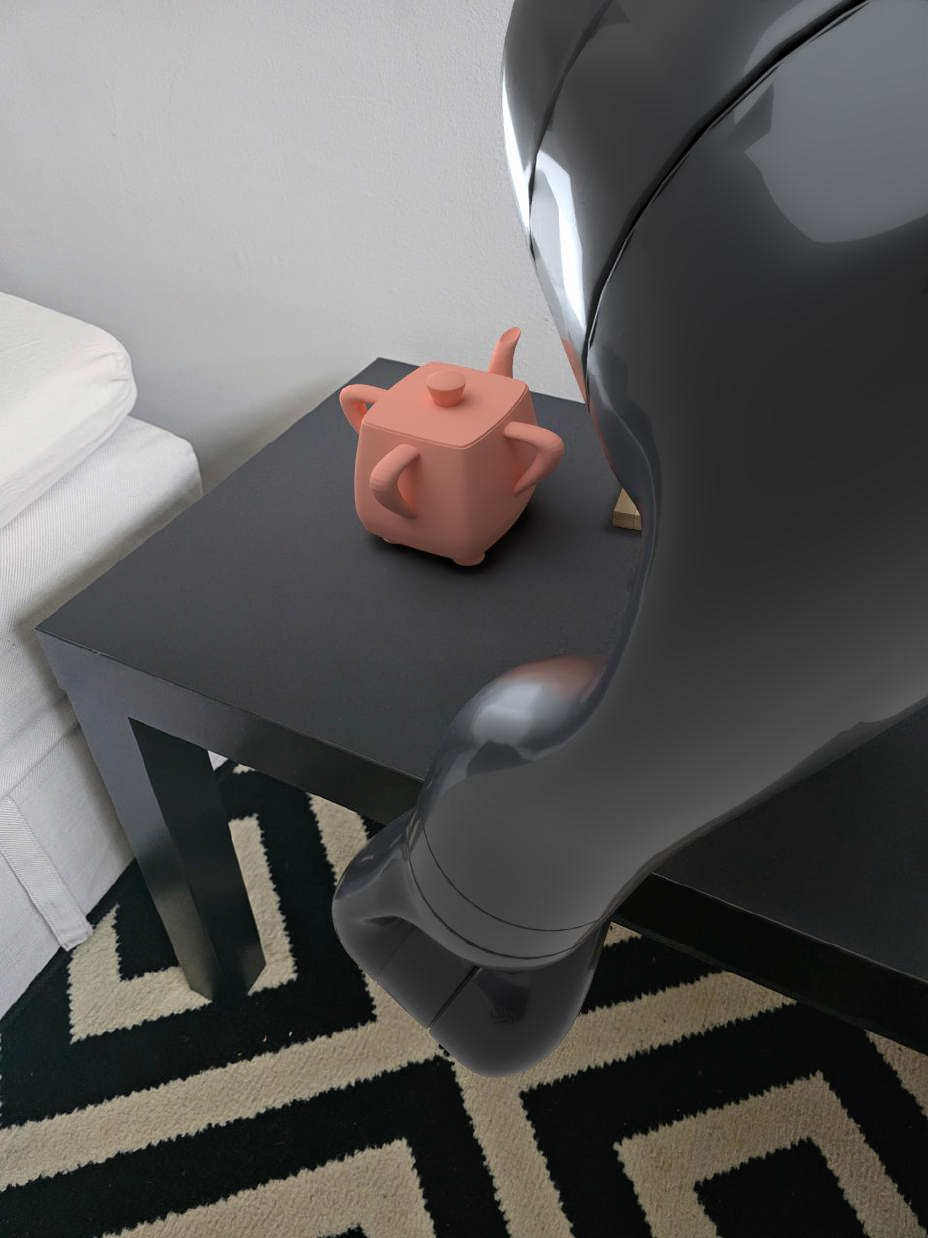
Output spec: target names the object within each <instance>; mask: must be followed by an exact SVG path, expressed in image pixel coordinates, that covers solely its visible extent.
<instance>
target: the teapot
mask: <svg viewBox="0 0 928 1238" xmlns="http://www.w3.org/2000/svg"><path fill="white" fill-rule="evenodd" d="M521 334H522V329H521V328H520V327H517V326H514V327H511V328H509V329H507V330H506V331H505V332H504V333H502V335H501V336H500V337H499V338H498V340H497V342H496V344H495V347H494V350H493V352H492V355H491V357H490V360H489V361H490V362H489V364H488V367H487V371H485V370H480V369H475V368H471V367H467V366H462V365H456V364H451V363H446V362H440V361H430V362H428V363H425V364H423V365H421V366H420V367H418V368H416V369H415V370H413V371H412V372H410V373H408V374H407V375H406V376H404V377H403V378H402V379H400V380H399V381H398V382H396V383H395V384H394V385H392V386H391V387H390V388H389V389H384V388H381V387H378V386H373V385H368V384H360V383H355V384H350V385H349V384H348V385H347V386H345V387H344V388H342V390H341V391H340V392H339V403H340V406H341V409H342V412H343V414H344V416H345V418H346V419H347V421H348V422H349V424H350V426H351V427H352V428H353V430H354V431H355V432H356V433H357V434H358V442H357V448H356V455H355V464H354V502H355V510H356V513H357V516H358V518H359V520H360V522H361V524H362V525H363V527H364V529H365V530H366V531H367V532H368V533H370V534H372V535H375V536H377V537H380V538H382V539H383V540H384V541H385V542H387V543H389V544H394V545H403V546H406V547H409V548H412V549H415V550H419V551H422V552H426V553H429V554H433V555H437V556H440V557H443V558H446V559H447V558H448V559H452V561H453V562H454V563H455V564H457V565H460V566H463V567H464V566H465V567H470V566H475V565H478V564H480V563H481V562H483V561H484V559H485V557H486V554H485V552H486V551H487V550H489V549H490V548H491V547H492V546H494V544H496V542H498V541H499V540H500V538H502V537H504V535H505V534H506V533H507V532H508V531H509V530H510V529H511V528H512V527H513V526H514V524H515V523H516V522H517V521H518V519H519V518H520V516H521V515H522V513H523V512H524V510H525V508H526V507H527V506H528V504H529V502H530V500H531V498H532V496H533V494H534V492H535V490H536V487H537V486H538V485H537V484H538V483H540V482H542V480H544V479H545V478H547V477H548V476H549V475H550V474H551V473H552V472H553V471H554V470H555V469H556V468H557V467H558V465H559V463H560V462H561V460H562V458H563V456H564V453H565V444H564V443H565V442H563V439H562V438H561V437H560V436H559V435H558V434H557V433H555V432H553V431H551V430H549V429H547V428H543V427H541V426H539V425H538V420H537V416H536V412H535V408H534V404H533V403H534V402H533V399H532V395H531V392H530V388H529V384H527V383H526V382H525V381H523V380H520V379H516V378H514V356H515V352H516V348H517V345H518V343H519V341H520V339H521ZM366 404H372V406H371V407H370V408H369V409H368V408H367V406H366Z"/></svg>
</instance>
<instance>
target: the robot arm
mask: <svg viewBox="0 0 928 1238" xmlns="http://www.w3.org/2000/svg"><path fill="white" fill-rule="evenodd" d="M511 7H512V8H511V11H510V15H509V20H508V24H507V28H506V31H505V35H504V40H503V41H504V43H503V49H502V54H501V63H500V72H499V73H500V75H499V108H500V109H499V110H500V123H501V125H500V126H501V134H502V135H501V137H502V146H503V153H504V159H505V164H506V165H505V166H506V170H507V171H506V172H507V176H508V182H509V187H510V192H511V196H512V200H513V205H514V209H515V212H516V215H517V216H516V217H517V218H518V222H519V225H520V229H521V232H522V235H523V239H524V242H525V245H526V249H527V251H528V255H529V258H530V260H531V265H532V266H533V270H534V273H535V276H536V278H537V281H538V283H539V287H540V289H541V291H542V294H543V297H544V299H545V302H546V305H547V308H548V310H549V313H550V315H551V317H552V320H553V323H554V325H555V328H556V331H557V333H558V336H559V338H560V342H561V344H562V346H563V349H564V351H565V355H566V357H567V360H568V362H569V364H570V367H571V371H572V373H573V375H574V378H575V381H576V383H577V385H578V388H579V391H580V393H581V396H582V399H583V401H584V404H585V407H586V409H587V412H588V414H589V416H590V419H591V421H592V423H593V426H594V428H595V432H596V434H597V437H598V440H599V442H600V445H601V448H602V451H603V453H604V456H605V458H606V461H607V463H608V465H609V468H610V469H611V472H612V474H614V476H615V478H616V481H618V483H619V485H620V486H621V488H623V489H624V490H625V492H626V493H627V494H628V496H629V497H630V499H631V500H632V502H633V503H634V505H635V506H636V508H637V510H638V512H639V514H640V518H641V530H640V532H641V543H640V544H641V545H640V552H639V557H638V562H637V566H636V571H635V574H634V579H633V584H632V588H631V593H630V597H629V601H628V603H627V608H626V611H625V614H624V617H623V619H622V623H621V625H620V629H619V632H618V635H617V637H616V641H615V643H614V645H613V646H612V647H611V648H610V650H608V651H605V652H604V651H602V652H601V651H599V652H597V651H582V652H570V653H560V654H555V655H549V656H544V657H539V658H536V659H533V660H530V661H528V662H525V663H523V664H519V665H518V666H514V667H513V668H511V669H508V670H507V671H505V672H503V673H501V674H500V675H498V676H497V677H495V678H494V679H492V680H490V681H489V682H488V683H486V684H485V685H484V686H482V688H480V689H479V690H478V691H476V692H475V694H474V695H472V697H471V698H470V699H469V700H468V701H466V703H465V704H464V705H463V706H462V707H461V708H460V710H458V713H456V715H455V717H454V718H453V720H452V721H451V722H450V724H449V726H448V728H447V729H446V731H445V732H444V734H443V735H442V737H441V739H440V741H439V743H438V746H437V747H436V749H435V752H434V754H433V756H432V759H431V761H430V764H429V767H428V769H427V773H426V775H425V778H424V780H423V783H422V786H421V788H420V792H419V793H418V796H417V799H416V802H415V804H414V807H413V808H411V809H409V810H407V811H406V812H404V813H402V814H401V815H399V816H397V817H396V818H395V819H393V820H392V821H390V822H389V823H387V824H386V825H385V826H384V827H383V828H381V829H380V830H379V831H378V832H377V833H376V834H374V835H373V836H372V837H371V838H369V840H368V841H367V842H365V844H364V845H363V846H362V847H361V848H360V849H359V850H358V851H357V853H356V854H354V856H353V857H352V858H351V860H350V861H349V863H348V865H347V866H346V867H345V869H344V870H343V872H342V873H341V876H340V878H339V879H338V882H337V885H336V887H335V890H334V893H333V896H332V901H331V918H332V924H333V928H334V931H335V933H336V937H337V938H338V940H339V943H340V944H341V946H342V947H343V949H344V950H345V952H346V953H347V955H348V956H349V957H350V958H351V959H352V960H353V961H354V962H355V964H356V965H357V966H358V967H359V968H360V969H361V970H362V971H363V972H365V974H367V975H368V976H369V978H371V979H372V980H373V981H374V982H375V983H376V984H377V985H378V986H379V987H380V988H381V989H382V990H383V991H384V992H385V993H387V995H389V997H390V998H392V1000H394V1002H395V1003H397V1004H398V1005H399V1006H400V1007H401V1008H402V1009H403V1010H404V1011H405V1012H406V1013H407V1014H408V1015H410V1017H412V1019H414V1020H415V1021H416V1022H417V1023H418V1024H419V1025H420V1026H421V1027H422V1028H423V1029H424V1030H428V1034H429V1036H431V1037H432V1038H433V1039H434V1040H435V1041H436V1042H437V1043H438V1044H439V1045H440V1046H441V1047H442V1048H443V1049H444V1050H445V1051H446V1052H447V1053H448V1054H449V1055H450V1056H451V1057H453V1058H454V1059H455V1060H456V1061H457V1062H458V1063H459V1064H460V1065H461V1066H462V1067H464V1068H466V1069H467V1070H469V1071H470V1072H472V1073H473V1074H475V1075H477V1076H481V1077H484V1078H494V1079H501V1078H507V1077H512V1076H515V1075H519V1074H522V1073H524V1072H526V1071H529V1070H531V1069H532V1068H534V1067H536V1066H537V1065H539V1064H540V1063H541V1062H543V1061H544V1060H546V1059H547V1058H548V1057H549V1056H550V1055H551V1054H552V1053H553V1052H554V1051H556V1049H557V1048H558V1047H559V1046H560V1045H561V1044H562V1042H563V1041H564V1039H565V1038H566V1036H567V1035H568V1034H569V1032H570V1031H571V1029H572V1027H573V1025H574V1024H575V1022H576V1020H577V1018H578V1016H579V1014H580V1012H581V1009H582V1008H583V1004H584V1002H585V1000H586V997H587V995H588V993H589V990H590V988H591V984H592V982H593V980H594V976H595V972H596V970H597V967H598V965H599V961H600V957H601V954H602V951H603V948H604V945H605V942H606V938H607V935H608V933H609V930H610V927H611V924H612V921H613V918H614V916H615V913H616V911H617V910H618V909H619V908H620V906H622V904H623V903H624V902H626V900H627V899H628V898H629V897H630V896H631V895H632V894H633V893H634V891H635V890H636V889H638V887H639V886H640V885H641V884H642V883H643V882H644V881H645V880H646V878H648V876H650V875H651V874H652V873H653V872H654V871H655V870H657V869H659V868H658V867H660V866H661V865H663V864H664V863H665V862H667V861H668V860H669V859H671V858H672V857H673V856H675V855H676V854H678V853H679V852H681V851H682V850H683V849H686V848H687V847H688V846H690V845H691V844H693V843H695V842H696V841H698V840H699V839H701V838H704V837H705V836H707V835H708V834H710V833H712V832H713V831H715V830H717V829H719V828H720V827H723V826H724V825H725V824H727V823H729V822H731V821H733V820H734V819H736V818H738V817H741V816H742V815H744V814H746V813H747V812H749V811H751V810H753V809H755V808H757V807H759V806H761V805H762V804H764V803H765V802H767V801H769V800H771V799H772V798H774V797H776V796H778V795H779V794H782V793H783V792H785V791H787V790H788V789H790V788H792V787H793V786H796V785H797V784H799V783H800V782H802V781H804V780H806V779H807V778H809V777H811V776H812V775H815V774H816V773H818V772H819V771H821V770H823V769H825V768H826V767H828V766H830V765H831V764H833V763H835V762H837V761H838V760H840V759H841V758H843V757H845V756H846V755H849V753H852V752H853V751H854V750H856V749H858V748H859V747H861V746H863V745H865V744H866V743H868V742H869V741H871V740H873V739H875V738H876V737H877V736H879V735H881V734H882V733H884V732H886V731H888V730H890V728H892V727H894V726H895V725H897V724H899V723H900V722H902V721H904V720H905V719H907V718H909V717H910V716H912V715H914V714H915V713H917V712H918V711H920V710H922V709H923V708H925V707H926V706H928V0H513V2H512V6H511Z"/></svg>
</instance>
